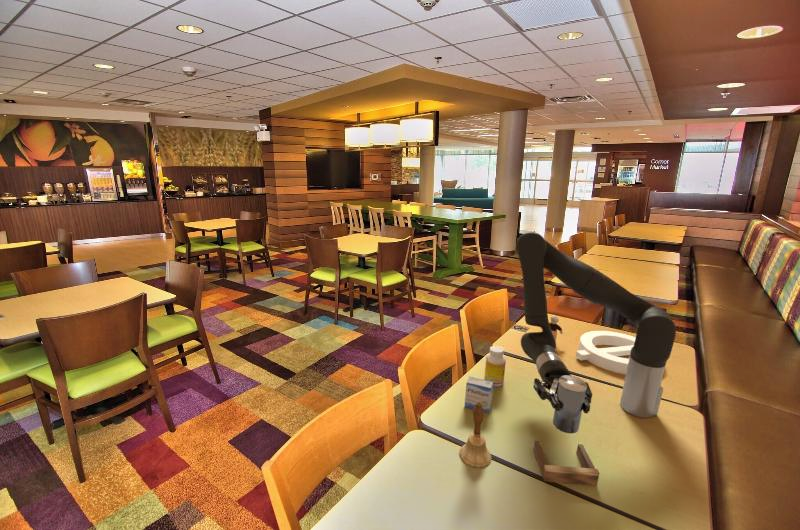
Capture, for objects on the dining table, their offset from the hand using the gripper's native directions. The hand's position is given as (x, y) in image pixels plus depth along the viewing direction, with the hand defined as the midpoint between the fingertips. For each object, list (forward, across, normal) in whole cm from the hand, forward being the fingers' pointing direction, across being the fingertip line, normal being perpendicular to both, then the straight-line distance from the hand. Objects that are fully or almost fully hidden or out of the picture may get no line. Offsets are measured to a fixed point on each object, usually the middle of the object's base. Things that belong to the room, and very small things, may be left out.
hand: (572, 409), depth 90 cm
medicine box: (-23, -19, +18) cm, 35 cm away
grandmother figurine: (-70, +16, +18) cm, 74 cm away
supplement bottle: (-37, -12, +18) cm, 43 cm away
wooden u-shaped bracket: (-1, 0, +18) cm, 18 cm away
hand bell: (-2, -22, +18) cm, 28 cm away
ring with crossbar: (-62, +40, +19) cm, 76 cm away
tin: (-2, 0, +6) cm, 7 cm away
